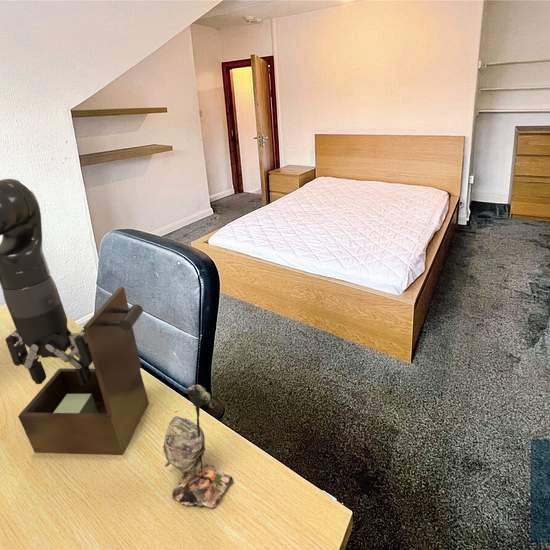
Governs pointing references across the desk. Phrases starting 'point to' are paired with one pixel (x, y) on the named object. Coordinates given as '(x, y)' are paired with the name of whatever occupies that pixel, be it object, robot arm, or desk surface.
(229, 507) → the desk surface
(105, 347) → the lid
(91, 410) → the block
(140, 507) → the desk surface
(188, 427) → the plant with pod
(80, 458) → the desk surface
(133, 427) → the chest
